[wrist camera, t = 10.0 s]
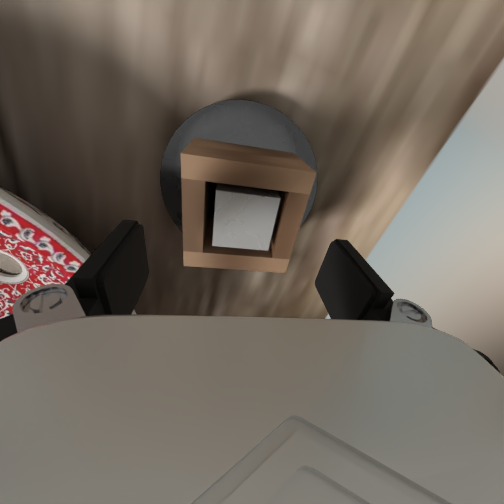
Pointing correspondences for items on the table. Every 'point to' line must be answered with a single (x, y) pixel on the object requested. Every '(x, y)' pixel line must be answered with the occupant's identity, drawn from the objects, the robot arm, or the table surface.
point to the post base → (234, 132)
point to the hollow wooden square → (244, 174)
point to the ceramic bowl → (34, 250)
